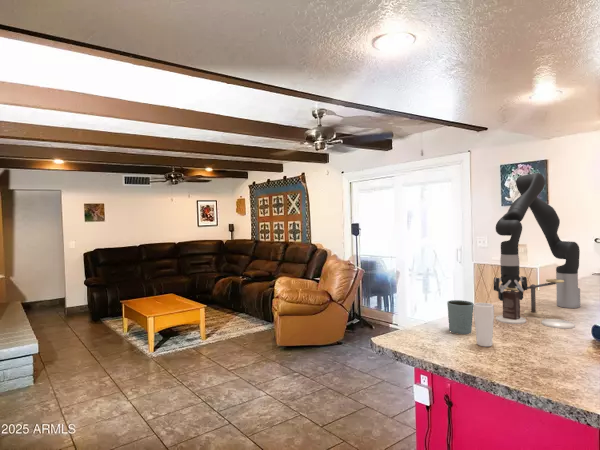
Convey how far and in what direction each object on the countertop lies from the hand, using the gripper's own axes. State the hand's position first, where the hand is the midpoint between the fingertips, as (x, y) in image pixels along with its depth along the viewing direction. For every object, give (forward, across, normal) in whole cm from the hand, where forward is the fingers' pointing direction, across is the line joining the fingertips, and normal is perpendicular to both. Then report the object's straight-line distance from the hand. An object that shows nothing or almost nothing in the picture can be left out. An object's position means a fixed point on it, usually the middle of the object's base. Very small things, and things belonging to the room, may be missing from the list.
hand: (510, 300), depth 179 cm
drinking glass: (+9, +28, +32) cm, 44 cm away
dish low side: (+9, 0, 0) cm, 9 cm away
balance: (+9, -15, -7) cm, 19 cm away
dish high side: (+9, -15, +9) cm, 20 cm away
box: (+8, 0, 0) cm, 8 cm away
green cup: (+9, +29, +14) cm, 34 cm away
